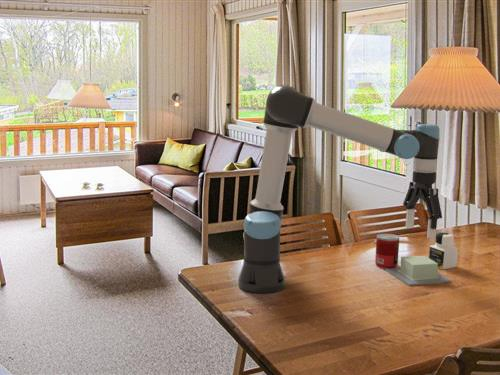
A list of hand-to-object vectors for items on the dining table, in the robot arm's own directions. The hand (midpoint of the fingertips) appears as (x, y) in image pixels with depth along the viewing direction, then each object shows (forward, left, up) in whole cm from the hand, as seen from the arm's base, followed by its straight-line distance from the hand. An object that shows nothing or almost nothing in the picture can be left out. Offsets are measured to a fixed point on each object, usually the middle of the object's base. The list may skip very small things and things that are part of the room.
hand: (419, 232), depth 199 cm
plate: (0, 0, -15) cm, 15 cm away
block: (0, 0, -15) cm, 15 cm away
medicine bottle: (+15, +8, -16) cm, 23 cm away
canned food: (-5, +13, -16) cm, 21 cm away
